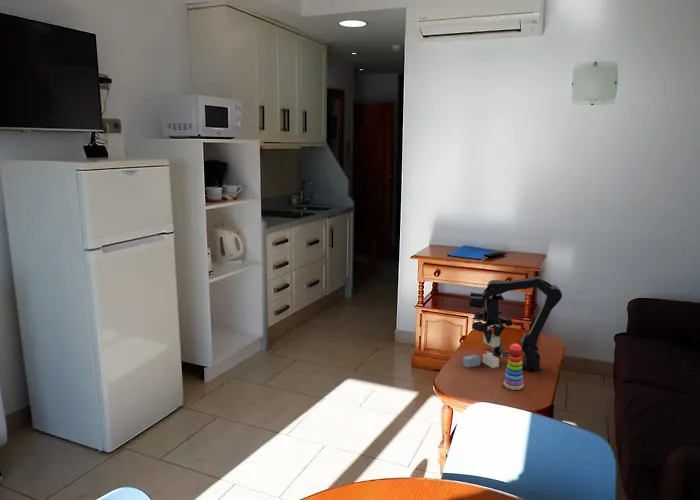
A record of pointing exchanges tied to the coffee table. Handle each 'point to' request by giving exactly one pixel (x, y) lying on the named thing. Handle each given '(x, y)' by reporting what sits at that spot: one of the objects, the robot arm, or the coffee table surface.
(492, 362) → the cream brick
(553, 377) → the coffee table surface
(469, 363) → the slate brick
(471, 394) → the coffee table surface
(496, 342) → the sage brick
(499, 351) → the stuffed animal
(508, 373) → the stacking toy
